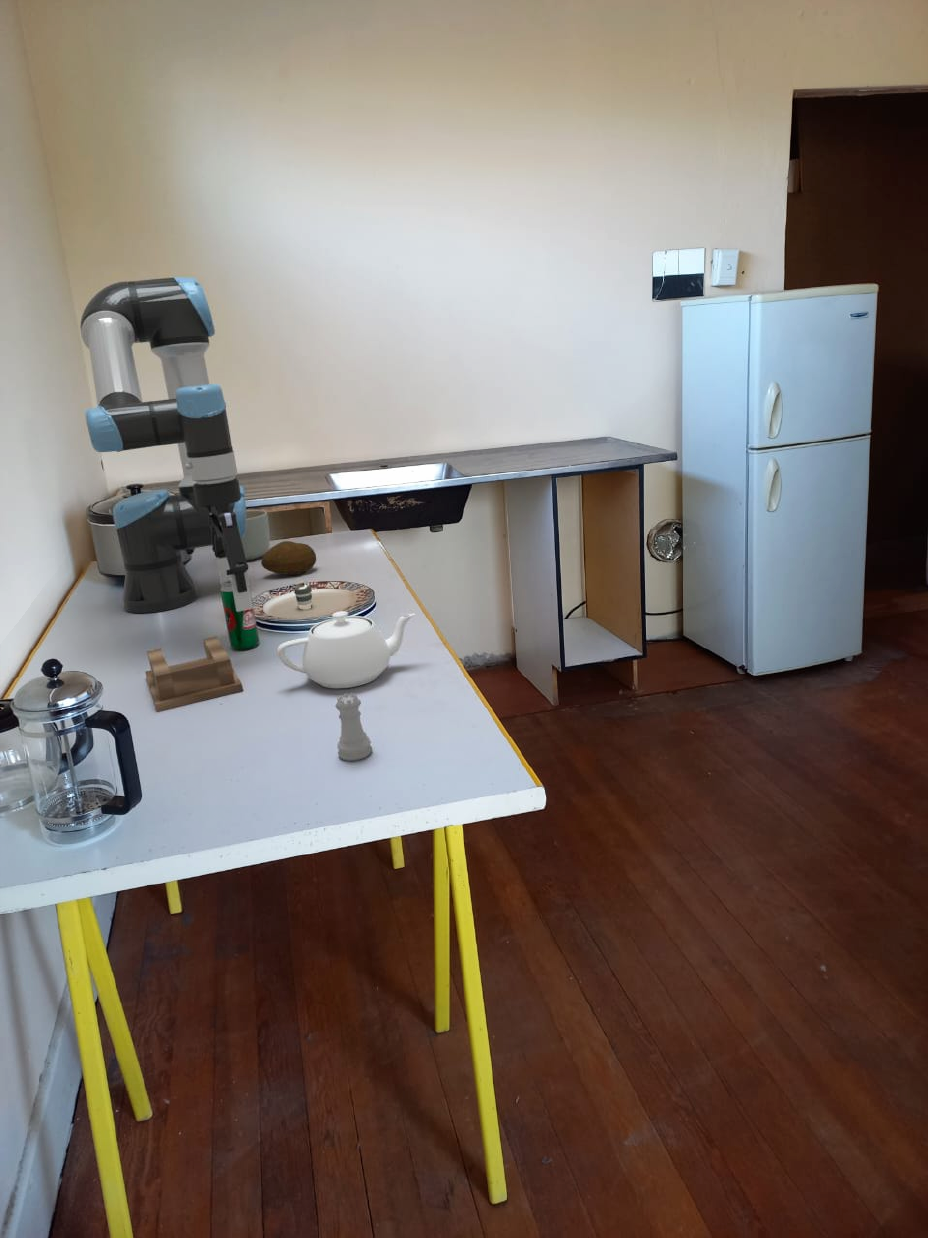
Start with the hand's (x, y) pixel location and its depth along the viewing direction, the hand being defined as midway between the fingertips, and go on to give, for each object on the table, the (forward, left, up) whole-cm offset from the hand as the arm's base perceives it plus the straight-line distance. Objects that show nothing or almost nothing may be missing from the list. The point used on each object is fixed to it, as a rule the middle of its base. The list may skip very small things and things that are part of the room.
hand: (237, 601), depth 156 cm
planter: (-67, +14, -9) cm, 69 cm away
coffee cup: (-15, +15, -9) cm, 24 cm away
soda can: (0, 0, -9) cm, 9 cm away
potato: (-43, +19, -9) cm, 48 cm away
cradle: (+13, -11, -9) cm, 19 cm away
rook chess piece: (+52, +4, -9) cm, 52 cm away
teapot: (+26, +12, -9) cm, 30 cm away
